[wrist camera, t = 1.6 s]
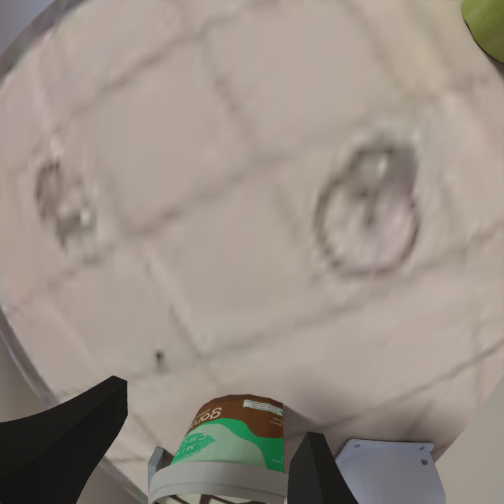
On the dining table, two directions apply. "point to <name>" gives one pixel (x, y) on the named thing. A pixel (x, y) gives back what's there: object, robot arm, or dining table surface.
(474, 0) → the plant pot
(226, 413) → the food container
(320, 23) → the dining table surface
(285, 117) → the dining table surface
